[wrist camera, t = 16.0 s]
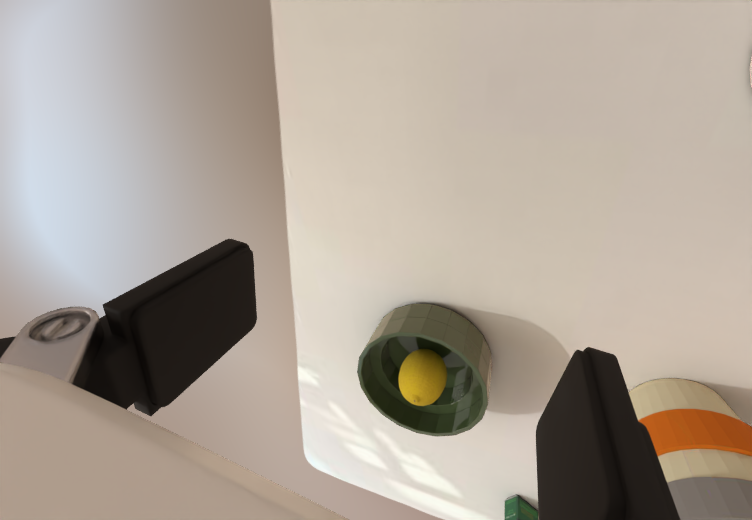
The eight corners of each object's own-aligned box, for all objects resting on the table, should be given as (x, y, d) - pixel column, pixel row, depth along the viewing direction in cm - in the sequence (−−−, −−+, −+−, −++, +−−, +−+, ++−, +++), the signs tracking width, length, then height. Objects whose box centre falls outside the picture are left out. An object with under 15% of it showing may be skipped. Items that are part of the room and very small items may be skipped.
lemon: (444, 377, 46) (431, 427, 39) (405, 360, 47) (385, 406, 40) (457, 346, 43) (445, 394, 37) (415, 329, 44) (395, 373, 38)
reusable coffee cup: (619, 454, 42) (660, 611, 30) (589, 372, 39) (622, 509, 27) (761, 452, 36) (888, 648, 24) (739, 355, 33) (873, 521, 21)
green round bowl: (507, 324, 40) (505, 361, 35) (474, 411, 48) (467, 453, 42) (384, 286, 44) (364, 314, 39) (370, 372, 51) (352, 406, 46)
